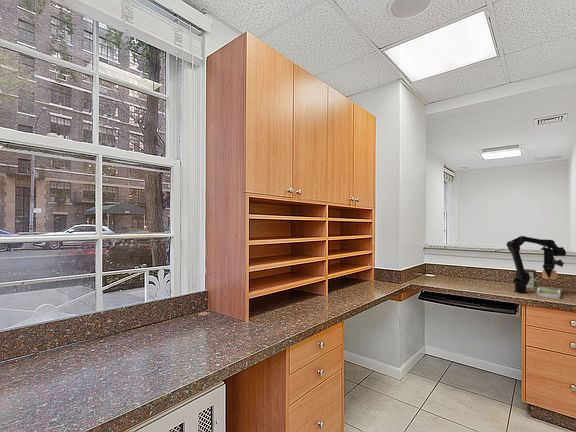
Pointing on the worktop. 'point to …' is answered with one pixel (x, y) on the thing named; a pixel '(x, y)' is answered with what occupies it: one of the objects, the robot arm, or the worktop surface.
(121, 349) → the worktop surface
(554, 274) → the orange stepped block
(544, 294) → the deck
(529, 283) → the coffee can
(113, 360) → the worktop surface
